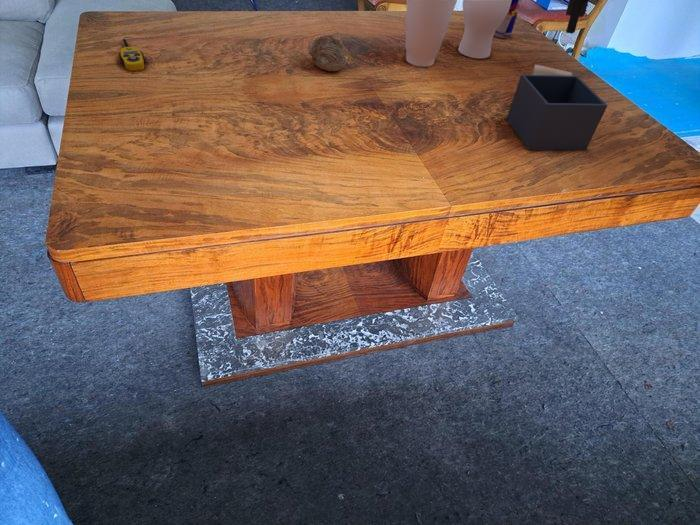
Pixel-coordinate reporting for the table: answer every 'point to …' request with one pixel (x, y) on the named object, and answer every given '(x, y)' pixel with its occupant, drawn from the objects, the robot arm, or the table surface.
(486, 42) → the cup
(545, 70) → the block
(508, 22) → the beverage can
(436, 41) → the cup
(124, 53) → the yellow walkie talkie
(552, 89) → the box
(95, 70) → the table surface
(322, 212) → the table surface
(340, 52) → the seashell
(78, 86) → the table surface
